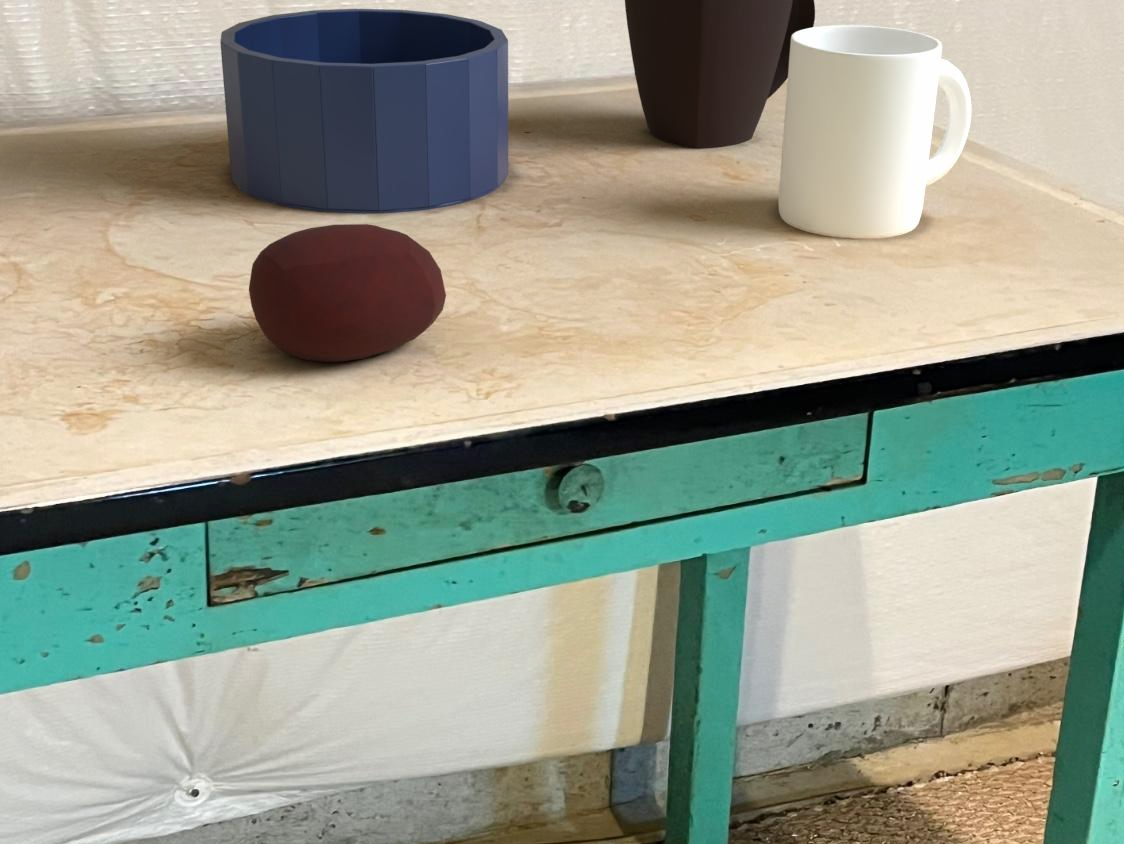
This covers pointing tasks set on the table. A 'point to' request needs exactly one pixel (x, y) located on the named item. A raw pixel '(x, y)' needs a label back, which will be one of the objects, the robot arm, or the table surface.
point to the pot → (366, 109)
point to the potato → (345, 291)
